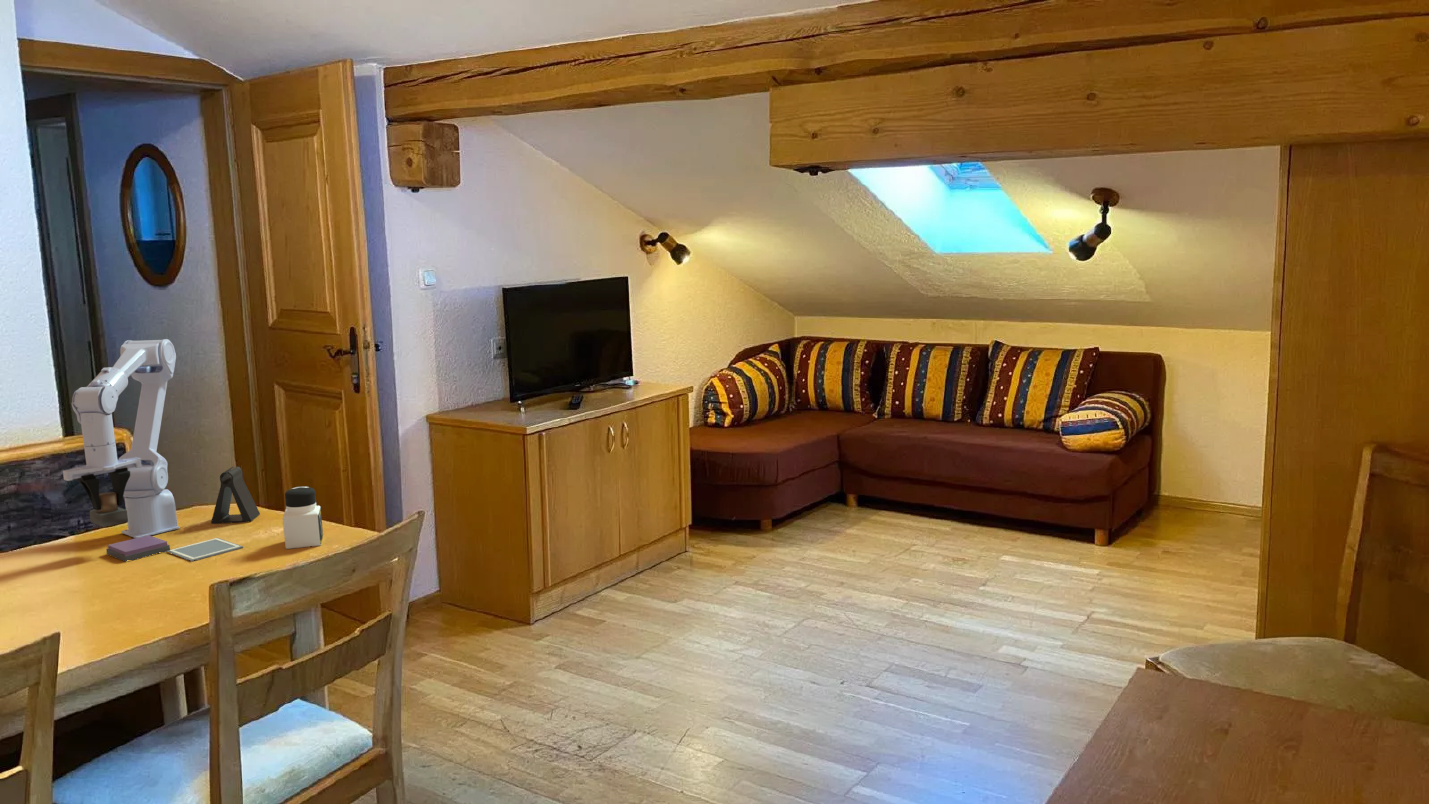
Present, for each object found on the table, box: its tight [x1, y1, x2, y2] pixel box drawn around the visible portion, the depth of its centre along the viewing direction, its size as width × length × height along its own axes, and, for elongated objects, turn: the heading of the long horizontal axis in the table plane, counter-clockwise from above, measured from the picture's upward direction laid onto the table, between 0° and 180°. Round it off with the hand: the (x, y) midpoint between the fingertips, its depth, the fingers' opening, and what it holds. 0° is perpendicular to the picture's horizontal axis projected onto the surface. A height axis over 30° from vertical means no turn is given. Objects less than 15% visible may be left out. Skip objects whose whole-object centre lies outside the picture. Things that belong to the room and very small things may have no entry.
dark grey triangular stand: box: [210, 465, 261, 525], centre depth 249 cm, size 9×6×12 cm, turn 94°
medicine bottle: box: [282, 486, 324, 550], centre depth 229 cm, size 7×7×12 cm
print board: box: [165, 537, 244, 562], centre depth 227 cm, size 11×11×1 cm
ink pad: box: [105, 535, 171, 562], centre depth 226 cm, size 9×9×2 cm
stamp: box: [89, 491, 128, 528], centre depth 226 cm, size 5×6×6 cm
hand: (107, 507), depth 226 cm, fingers closed on stamp, 4 cm apart
